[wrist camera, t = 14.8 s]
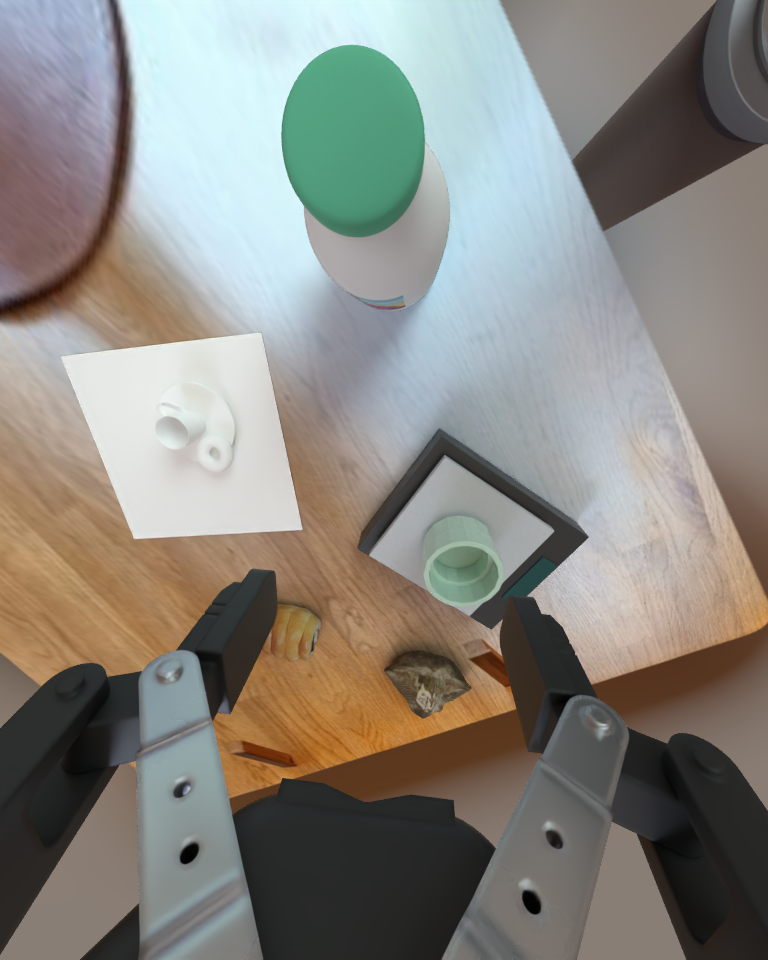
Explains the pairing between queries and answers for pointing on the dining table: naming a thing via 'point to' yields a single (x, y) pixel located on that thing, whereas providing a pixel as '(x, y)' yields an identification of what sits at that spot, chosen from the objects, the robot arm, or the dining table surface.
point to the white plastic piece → (189, 436)
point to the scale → (476, 494)
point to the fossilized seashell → (427, 681)
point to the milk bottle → (366, 176)
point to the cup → (461, 562)
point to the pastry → (293, 633)
